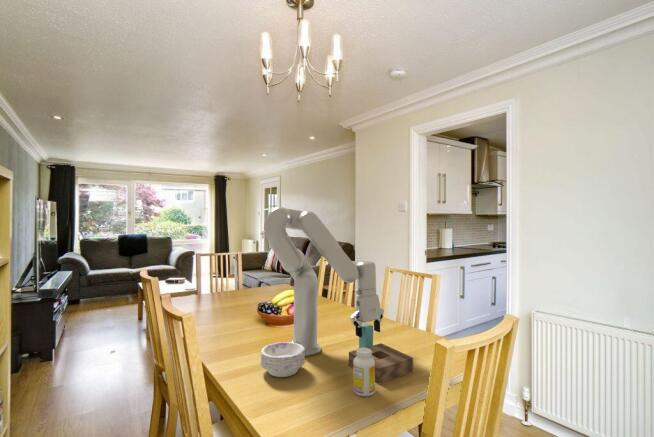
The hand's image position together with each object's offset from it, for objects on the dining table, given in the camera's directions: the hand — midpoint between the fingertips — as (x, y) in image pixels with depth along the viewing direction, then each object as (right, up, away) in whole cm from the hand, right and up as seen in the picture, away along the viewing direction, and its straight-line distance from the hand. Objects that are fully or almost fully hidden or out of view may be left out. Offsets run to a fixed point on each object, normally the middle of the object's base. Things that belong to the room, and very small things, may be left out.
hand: (368, 333), depth 135 cm
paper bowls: (-32, -7, -20) cm, 38 cm away
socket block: (+2, -7, -17) cm, 19 cm away
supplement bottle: (-5, -7, -33) cm, 34 cm away
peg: (-1, -7, 0) cm, 7 cm away
